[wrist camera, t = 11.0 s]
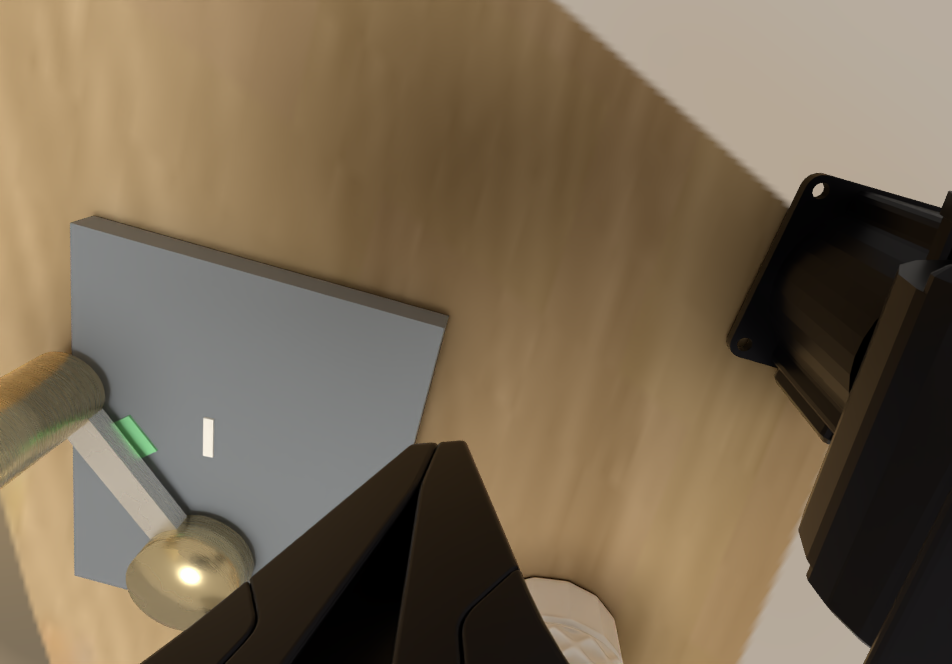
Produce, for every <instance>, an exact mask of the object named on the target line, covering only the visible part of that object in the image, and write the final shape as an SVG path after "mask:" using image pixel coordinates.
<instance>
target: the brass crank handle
mask: <svg viewBox="0 0 952 664" xmlns="http://www.w3.org/2000/svg"><path fill="white" fill-rule="evenodd" d="M104 404H105V390H104V387H103V384H102V382H101V380H100V378H99V377H98V375H97V374H96V372H95V371H94V370H93V369H92V368H91V367H90V366H89V365H88V364H86V363H85V362H84V361H82V360H81V359H79V358H77V357H75V356H73V355H70V354H67V353H63V352H48V353H45V354H42V355H40V356H38V357H37V358H35V359H33V360H31V361H29V362H28V363H26V364H24V365H22V366H20V367H19V368H17V369H15V370H13V371H11V372H10V373H8V374H6V375H4V376H2V377H1V378H0V489H2V488H3V487H4V486H5V485H7V484H8V483H9V482H11V481H12V480H13V479H15V478H16V477H17V476H19V475H20V474H21V473H22V472H24V471H25V470H26V469H28V468H29V467H30V466H32V465H33V464H34V463H36V462H37V461H38V460H39V459H41V458H42V457H43V456H45V455H46V454H47V453H49V452H50V451H51V450H52V449H54V448H55V447H56V446H58V445H59V444H60V443H62V442H63V441H64V440H66V439H68V440H69V441H70V443H71V444H72V445H73V446H74V447H75V449H76V450H77V451H78V452H79V454H80V455H81V456H82V457H83V458H84V460H85V461H86V462H87V463H88V464H89V466H90V467H91V468H92V469H93V471H94V472H95V473H96V474H97V475H98V477H99V478H100V479H101V480H102V481H103V483H104V484H105V485H106V486H107V487H108V489H109V490H110V491H111V492H112V494H113V495H114V496H115V497H116V498H117V500H118V501H119V502H120V503H121V504H122V506H123V507H124V508H125V509H126V511H127V512H128V513H129V514H130V515H131V517H132V518H133V519H134V520H135V521H136V523H137V524H138V525H139V526H140V528H141V529H142V530H143V531H144V532H145V534H146V535H147V536H148V537H149V538H150V540H149V541H148V543H147V544H146V545H145V546H144V547H143V549H142V550H141V551H140V552H139V553H138V554H137V556H136V557H135V558H134V559H133V560H132V562H131V563H130V565H129V566H128V569H127V572H126V586H127V589H128V592H129V594H130V596H131V598H132V599H133V601H134V602H135V604H136V605H137V606H138V607H139V608H140V609H141V610H142V611H143V612H144V613H145V614H146V615H148V616H149V617H150V618H152V619H153V620H155V621H157V622H159V623H161V624H163V625H165V626H167V627H170V628H173V629H177V630H181V631H185V630H186V629H187V628H189V627H190V626H191V625H192V624H194V623H195V622H196V621H197V620H199V619H200V618H201V617H202V616H204V615H205V614H206V613H207V612H209V611H210V610H211V609H212V608H214V607H215V606H216V605H218V604H219V603H220V602H221V601H223V600H224V599H225V598H226V597H227V596H229V595H230V594H231V593H232V592H233V591H235V590H236V589H237V588H238V587H239V586H241V585H242V584H243V583H244V582H248V581H249V579H250V578H251V576H252V573H253V568H254V561H253V556H252V553H251V551H250V549H249V547H248V545H247V544H246V542H245V541H244V539H243V538H242V537H241V536H240V535H239V534H238V533H237V532H236V531H234V530H233V529H232V528H231V527H229V526H227V525H226V524H224V523H222V522H220V521H218V520H215V519H213V518H210V517H206V516H201V515H186V514H185V513H184V512H183V510H182V509H181V508H180V507H179V505H178V504H177V503H176V501H175V500H174V499H173V498H172V496H171V495H170V494H169V493H168V491H167V490H166V489H165V487H164V486H163V485H162V484H161V482H160V481H159V480H158V479H157V477H156V476H155V475H154V473H153V472H152V471H151V470H150V468H149V467H148V466H147V465H146V463H145V462H144V461H143V459H142V458H141V457H140V456H139V454H138V453H137V452H136V451H135V449H134V448H133V447H132V445H131V444H130V443H129V442H128V440H127V439H126V438H125V437H124V435H123V434H122V433H121V431H120V430H119V429H118V428H117V426H116V425H115V424H114V422H113V421H112V420H111V419H110V417H109V416H108V415H107V414H106V412H105V411H104V410H103V407H104Z"/></svg>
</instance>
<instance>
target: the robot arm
mask: <svg viewBox="0 0 952 664" xmlns="http://www.w3.org/2000/svg"><path fill="white" fill-rule="evenodd" d="M819 183H823V185H824V190H823V192H822V194H821V195H819V196H817V197H813V194H812V192H813V188H814V187H815V186H816V185H817V184H819ZM743 338H749V340H748V343H747V344H746V345H744V346H737V343H738V341H739V340H740V339H743ZM726 342H727V346H728V348H729V349H730V350H731V352H732V353H733V354H734V355H736V356H738V357H741V358H744V359H748V360H751V361H755V362H758V363H762V364H765V365H769V366H772V367H776V368H778V370H777V372H776V374H775V375H774V377H775V380H776V382H777V384H778V385H779V387H780V388H781V389H782V390H783V392H784V393H785V394H786V395H787V397H788V398H789V399H790V400H791V402H792V403H793V404H794V405H795V407H796V408H797V409H798V410H799V412H800V413H801V414H802V415H803V417H804V418H805V419H806V421H807V422H808V423H809V424H810V426H811V427H812V428H813V429H814V431H815V432H816V433H817V434H818V436H819V437H820V438H821V439H822V441H823V442H825V443H827V444H830V445H829V448H828V450H827V453H826V456H825V458H824V461H823V463H822V466H821V468H820V471H819V474H818V476H817V479H816V481H815V484H814V486H813V489H812V492H811V494H810V497H809V499H808V502H807V504H806V507H805V510H804V513H803V516H802V520H801V523H800V526H799V530H798V531H799V534H800V538H801V541H802V545H803V548H804V551H805V555H806V558H807V560H808V562H809V564H810V567H809V570H808V572H807V575H806V576H807V579H808V581H809V583H810V584H811V585H812V587H813V588H814V589H815V591H816V592H817V594H819V596H820V597H821V599H822V600H823V602H824V603H825V604H826V605H827V607H828V608H829V609H830V610H831V612H832V613H833V614H834V615H835V616H836V617H837V618H838V619H839V620H840V621H841V622H842V623H843V624H844V625H845V626H846V627H847V628H848V629H849V630H850V631H852V633H853V634H854V635H855V636H856V637H857V638H858V639H859V640H860V641H862V642H863V643H864V644H865V645H867V646H868V647H869V648H871V649H870V651H869V653H868V655H867V657H866V659H865V661H864V663H863V664H952V191H948V194H947V196H946V199H945V201H944V204H943V206H942V208H940V207H937V206H933V205H929V204H926V203H923V202H920V201H916V200H913V199H909V198H906V197H902V196H899V195H895V194H892V193H889V192H885V191H881V190H878V189H875V188H871V187H868V186H864V185H861V184H858V183H854V182H851V181H847V180H844V179H840V178H837V177H834V176H830V175H827V174H823V173H815V174H812V175H810V176H808V177H807V178H805V179H804V181H803V182H802V183H801V185H800V187H799V189H798V191H797V193H796V195H795V197H794V199H793V201H792V204H791V206H790V208H789V210H788V212H787V214H786V216H785V218H784V220H783V222H782V224H781V226H780V228H779V231H778V233H777V235H776V237H775V239H774V241H773V243H772V245H771V247H770V249H769V251H768V253H767V255H766V258H765V260H764V262H763V264H762V266H761V268H760V270H759V272H758V274H757V276H756V278H755V280H754V282H753V285H752V287H751V289H750V291H749V293H748V295H747V297H746V299H745V301H744V303H743V305H742V307H741V309H740V312H739V314H738V316H737V318H736V320H735V322H734V324H733V326H732V328H731V330H730V332H729V334H728V337H727V341H726ZM249 581H250V583H249V582H244V583H243V584H242V585H241V586H239V587H238V588H237V589H236V590H235V591H233V592H232V593H231V594H230V595H229V596H227V597H226V598H225V599H224V600H223V601H221V602H220V603H219V604H218V605H216V606H215V607H214V608H212V609H211V610H210V611H209V612H207V613H206V614H205V615H204V616H202V617H201V618H200V619H199V620H197V621H196V622H195V623H194V624H192V625H191V626H190V627H189V628H187V629H186V630H185V631H183V632H182V633H181V634H179V635H178V636H177V637H175V638H174V639H173V640H171V641H170V642H169V643H167V644H166V645H165V646H163V647H162V648H161V649H159V650H158V651H157V652H155V653H154V654H152V655H151V656H150V657H148V658H147V659H146V660H144V661H143V662H142V663H140V664H569V662H568V661H567V659H566V658H565V656H564V655H563V653H562V651H561V650H560V648H559V646H558V644H557V643H556V641H555V639H554V638H553V636H552V634H551V632H550V631H549V629H548V627H547V626H546V624H545V622H544V620H543V618H542V616H541V614H540V612H539V610H538V608H537V606H536V604H535V602H534V600H533V598H532V595H531V593H530V591H529V589H528V587H527V584H526V582H525V580H524V577H523V575H522V573H521V572H520V568H519V566H518V564H517V561H516V559H515V557H514V554H513V552H512V550H511V547H510V545H509V542H508V540H507V538H506V535H505V533H504V531H503V528H502V526H501V524H500V521H499V519H498V516H497V514H496V512H495V509H494V507H493V505H492V502H491V500H490V497H489V495H488V493H487V490H486V488H485V486H484V483H483V481H482V479H481V476H480V474H479V471H478V469H477V467H476V464H475V462H474V460H473V457H472V455H471V453H470V450H469V448H468V445H467V443H466V442H465V441H448V442H441V443H439V444H438V445H437V444H436V443H421V444H412V445H410V446H408V447H407V448H406V449H405V450H404V451H402V452H401V453H400V454H399V455H398V456H396V457H395V458H394V459H393V460H392V461H390V462H389V463H388V464H387V465H385V466H384V467H383V468H382V469H381V470H379V471H378V472H377V473H376V474H375V475H373V476H372V477H371V478H370V479H369V480H367V481H366V482H365V483H364V484H363V485H361V486H360V487H359V488H358V489H357V490H355V491H354V492H353V493H352V494H351V495H349V496H348V497H347V498H346V499H345V500H343V501H342V502H341V503H340V504H338V505H337V506H336V507H335V508H334V509H332V510H331V511H330V512H329V513H328V514H326V515H325V516H324V517H323V518H322V519H320V520H319V521H318V522H317V523H316V524H314V525H313V526H312V527H311V528H310V529H308V530H307V531H306V532H305V533H304V534H302V535H301V536H300V537H299V538H298V539H296V540H295V541H294V542H293V543H291V544H290V545H289V546H288V547H287V548H285V549H284V550H283V551H282V552H281V553H279V554H278V555H277V556H276V557H275V558H273V559H272V560H271V561H270V562H269V563H267V564H266V565H265V566H264V567H263V568H261V569H260V570H259V571H258V572H256V573H255V574H254V575H253V576H252V577H251V578H250V580H249Z"/></svg>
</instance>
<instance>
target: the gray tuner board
mask: <svg viewBox="0 0 952 664" xmlns="http://www.w3.org/2000/svg"><path fill="white" fill-rule="evenodd" d="M70 247H71V327H72V355H73V356H75V357H77V358H79V359H81V360H82V361H84V362H85V363H86V364H88V365H89V366H90V367H91V368H92V369H93V370H94V371H95V372H96V374H97V375H98V377H99V378H100V380H101V382H102V384H103V387H104V390H105V404H104V407H103V410H104V411H105V412H106V414H107V415H108V416H109V417H110V419H111V420H112V421H113V422H114V424H115V425H116V426H117V428H118V429H119V430H120V431H121V433H122V434H123V435H124V437H125V438H126V439H127V440H128V442H129V443H130V444H131V445H132V447H133V448H134V449H135V451H136V452H137V453H138V454H139V456H140V457H141V458H142V459H143V461H144V462H145V463H146V465H147V466H148V467H149V468H150V470H151V471H152V472H153V473H154V475H155V476H156V477H157V479H158V480H159V481H160V482H161V484H162V485H163V486H164V487H165V489H166V490H167V491H168V493H169V494H170V495H171V496H172V498H173V499H174V500H175V501H176V503H177V504H178V505H179V507H180V508H181V509H182V510H183V512H184V513H185V514H186V515H201V516H206V517H210V518H213V519H215V520H218V521H220V522H222V523H224V524H226V525H227V526H229V527H231V528H232V529H233V530H234V531H236V532H237V533H238V534H239V535H240V536H241V537H242V538H243V539H244V541H245V542H246V544H247V545H248V547H249V549H250V551H251V553H252V556H253V561H254V568H253V573H252V576H253V575H254V574H255V573H256V572H258V571H259V570H260V569H261V568H263V567H264V566H265V565H266V564H267V563H269V562H270V561H271V560H272V559H273V558H275V557H276V556H277V555H278V554H279V553H281V552H282V551H283V550H284V549H285V548H287V547H288V546H289V545H290V544H291V543H293V542H294V541H295V540H296V539H298V538H299V537H300V536H301V535H302V534H304V533H305V532H306V531H307V530H308V529H310V528H311V527H312V526H313V525H314V524H316V523H317V522H318V521H319V520H320V519H322V518H323V517H324V516H325V515H326V514H328V513H329V512H330V511H331V510H332V509H334V508H335V507H336V506H337V505H338V504H340V503H341V502H342V501H343V500H345V499H346V498H347V497H348V496H349V495H351V494H352V493H353V492H354V491H355V490H357V489H358V488H359V487H360V486H361V485H363V484H364V483H365V482H366V481H367V480H369V479H370V478H371V477H372V476H373V475H375V474H376V473H377V472H378V471H379V470H381V469H382V468H383V467H384V466H385V465H387V464H388V463H389V462H390V461H392V460H393V459H394V458H395V457H396V456H398V455H399V454H400V453H401V452H402V451H404V450H405V449H406V448H407V447H408V446H410V445H412V444H415V441H416V437H417V434H418V430H419V426H420V422H421V419H422V415H423V411H424V408H425V404H426V400H427V396H428V393H429V389H430V385H431V381H432V378H433V374H434V370H435V366H436V363H437V359H438V355H439V351H440V348H441V344H442V340H443V337H444V333H445V329H446V325H447V322H448V318H449V316H447V315H444V314H440V313H437V312H433V311H429V310H426V309H422V308H419V307H415V306H412V305H408V304H405V303H401V302H398V301H394V300H391V299H387V298H383V297H380V296H376V295H373V294H369V293H366V292H362V291H359V290H355V289H352V288H348V287H344V286H341V285H337V284H334V283H330V282H327V281H323V280H320V279H316V278H313V277H309V276H306V275H302V274H298V273H295V272H291V271H288V270H284V269H281V268H277V267H274V266H270V265H267V264H263V263H259V262H256V261H252V260H249V259H245V258H242V257H238V256H235V255H231V254H228V253H224V252H221V251H217V250H213V249H210V248H206V247H203V246H199V245H196V244H192V243H189V242H185V241H182V240H178V239H174V238H171V237H167V236H164V235H160V234H157V233H153V232H150V231H146V230H143V229H139V228H136V227H132V226H128V225H125V224H121V223H118V222H114V221H111V220H107V219H104V218H100V217H97V216H91V217H88V218H84V219H81V220H78V221H75V222H71V223H70ZM73 488H74V568H75V576H79V577H82V578H86V579H90V580H93V581H97V582H101V583H105V584H108V585H112V586H116V587H119V588H123V589H127V586H126V572H127V569H128V566H129V565H130V563H131V562H132V560H133V559H134V558H135V557H136V556H137V554H138V553H139V552H140V551H141V550H142V549H143V547H144V546H145V545H146V544H147V543H148V541H149V540H150V538H149V537H148V536H147V535H146V534H145V532H144V531H143V530H142V529H141V528H140V526H139V525H138V524H137V523H136V521H135V520H134V519H133V518H132V517H131V515H130V514H129V513H128V512H127V511H126V509H125V508H124V507H123V506H122V504H121V503H120V502H119V501H118V500H117V498H116V497H115V496H114V495H113V494H112V492H111V491H110V490H109V489H108V487H107V486H106V485H105V484H104V483H103V481H102V480H101V479H100V478H99V477H98V475H97V474H96V473H95V472H94V471H93V469H92V468H91V467H90V466H89V464H88V463H87V462H86V461H85V460H84V458H83V457H82V456H81V455H80V454H79V452H78V451H77V450H76V449H75V447H74V446H73ZM252 576H251V577H252ZM249 580H250V579H249ZM248 582H249V583H250V581H248ZM127 590H128V589H127Z"/></svg>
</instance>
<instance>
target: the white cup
mask: <svg viewBox="0 0 952 664" xmlns="http://www.w3.org/2000/svg"><path fill="white" fill-rule="evenodd" d="M525 582H526V584H527V587H528V589H529V591H530V593H531V595H532V598H533V600H534V602H535V604H536V606H537V608H538V610H539V612H540V614H541V616H542V618H543V620H544V622H545V624H546V626H547V627H548V629H549V631H550V632H551V634H552V636H553V638H554V639H555V641H556V643H557V644H558V646H559V648H560V650H561V651H562V653H563V655H564V656H565V658H566V659H567V661H568V662H569V664H623V660H622V655H621V650H620V645H619V640H618V634H617V629H616V624H615V620H614V618H613V617H612V615H611V614H610V613H609V611H608V610H607V609H606V608H605V606H604V605H603V604H602V602H601V601H600V600H599V599H598V597H597V596H595V595H593V594H592V593H590V592H588V591H586V590H584V589H582V588H580V587H578V586H576V585H574V584H572V583H570V582H568V581H561V580H553V579H545V578H536V577H534V578H529V579H525Z"/></svg>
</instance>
